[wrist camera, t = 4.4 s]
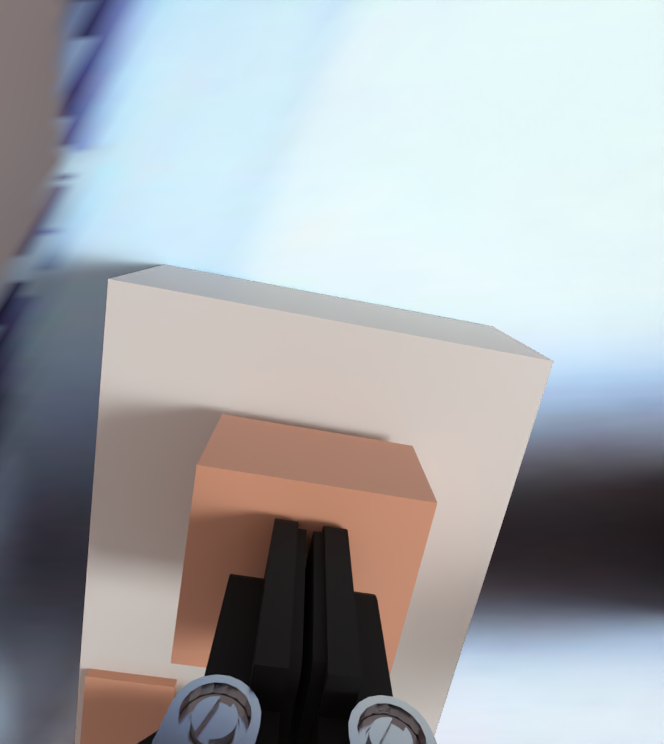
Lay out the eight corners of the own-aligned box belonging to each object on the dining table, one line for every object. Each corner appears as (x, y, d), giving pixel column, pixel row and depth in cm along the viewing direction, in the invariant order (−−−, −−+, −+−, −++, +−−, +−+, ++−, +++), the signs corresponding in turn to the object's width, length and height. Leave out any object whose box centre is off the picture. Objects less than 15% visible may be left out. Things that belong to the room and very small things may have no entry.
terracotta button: (359, 513, 20) (385, 690, 12) (227, 492, 20) (170, 663, 12) (387, 389, 19) (437, 503, 11) (246, 364, 18) (196, 465, 11)
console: (337, 882, 27) (342, 1037, 22) (104, 860, 26) (51, 1016, 21) (492, 326, 19) (558, 363, 14) (164, 264, 18) (103, 279, 13)
